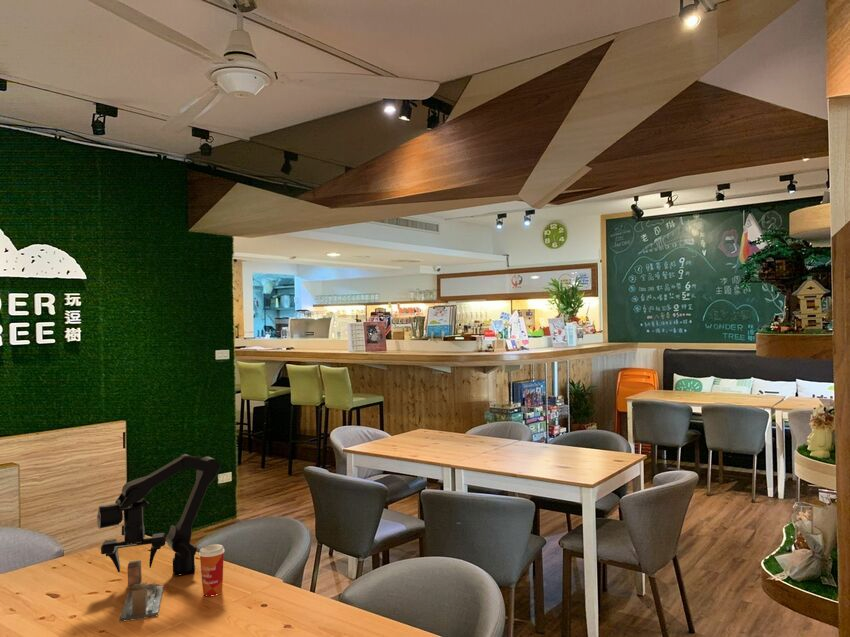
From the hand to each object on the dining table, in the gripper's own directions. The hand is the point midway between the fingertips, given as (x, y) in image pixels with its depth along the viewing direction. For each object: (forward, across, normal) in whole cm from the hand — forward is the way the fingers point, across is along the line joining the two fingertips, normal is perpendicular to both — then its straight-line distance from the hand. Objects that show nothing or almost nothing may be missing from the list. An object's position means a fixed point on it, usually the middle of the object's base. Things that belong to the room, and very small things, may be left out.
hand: (134, 569), depth 200 cm
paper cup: (+5, -24, +17) cm, 30 cm away
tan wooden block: (+5, 0, 0) cm, 5 cm away
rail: (+5, -4, +17) cm, 18 cm away
